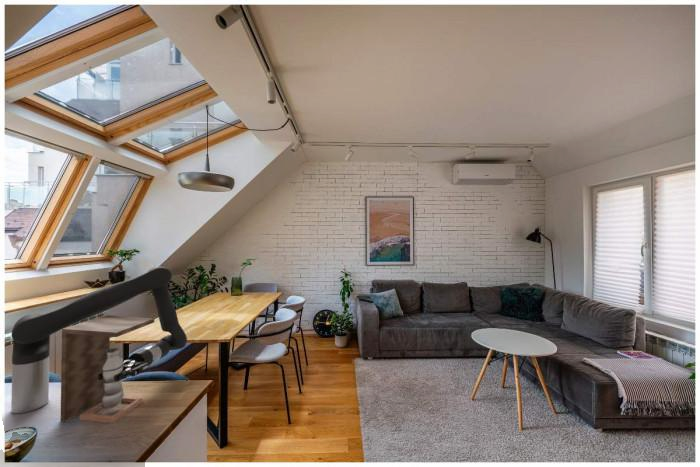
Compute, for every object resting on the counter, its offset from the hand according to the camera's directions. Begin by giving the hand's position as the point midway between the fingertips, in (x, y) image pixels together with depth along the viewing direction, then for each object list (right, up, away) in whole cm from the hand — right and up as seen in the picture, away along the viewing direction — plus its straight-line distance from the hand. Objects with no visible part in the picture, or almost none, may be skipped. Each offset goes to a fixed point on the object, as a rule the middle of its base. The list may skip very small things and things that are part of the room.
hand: (107, 378), depth 103 cm
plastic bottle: (0, -11, +2) cm, 11 cm away
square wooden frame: (0, -13, +2) cm, 13 cm away
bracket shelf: (-1, -13, +3) cm, 13 cm away
